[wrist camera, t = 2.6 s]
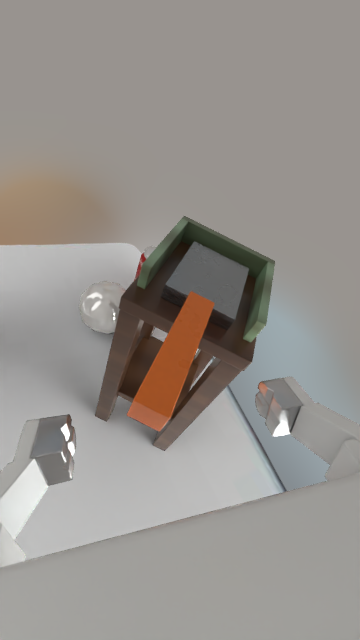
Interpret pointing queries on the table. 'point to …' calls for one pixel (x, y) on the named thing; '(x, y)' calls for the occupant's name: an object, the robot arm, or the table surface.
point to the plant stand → (153, 311)
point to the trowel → (188, 327)
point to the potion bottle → (101, 306)
